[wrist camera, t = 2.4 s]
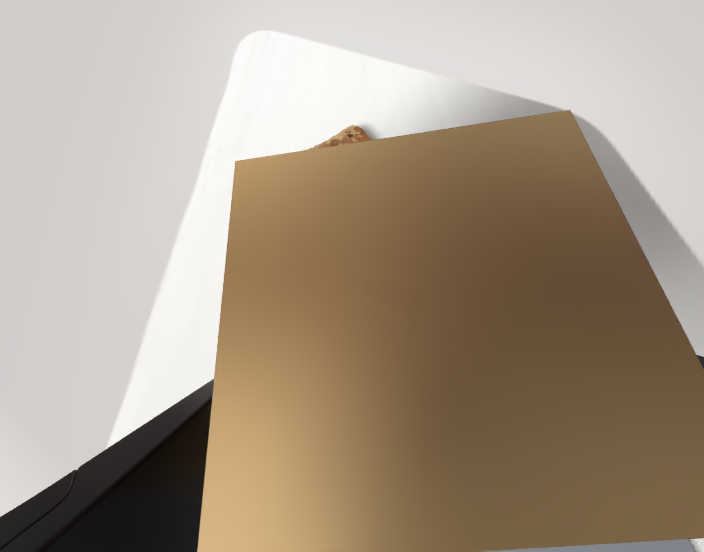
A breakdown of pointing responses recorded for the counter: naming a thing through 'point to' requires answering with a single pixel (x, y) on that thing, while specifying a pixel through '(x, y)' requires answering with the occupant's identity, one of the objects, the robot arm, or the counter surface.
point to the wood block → (446, 354)
